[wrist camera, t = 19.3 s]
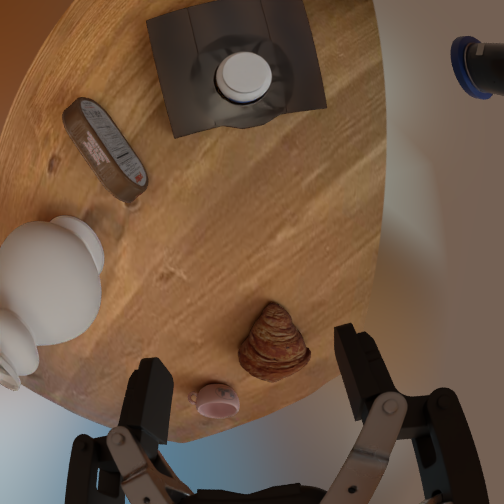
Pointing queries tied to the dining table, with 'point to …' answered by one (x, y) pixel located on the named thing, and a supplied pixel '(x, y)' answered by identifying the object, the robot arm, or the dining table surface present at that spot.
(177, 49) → the base pad
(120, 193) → the tin
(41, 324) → the decorative vase
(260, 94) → the pill bottle
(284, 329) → the pastry
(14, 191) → the dining table surface
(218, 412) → the mug
